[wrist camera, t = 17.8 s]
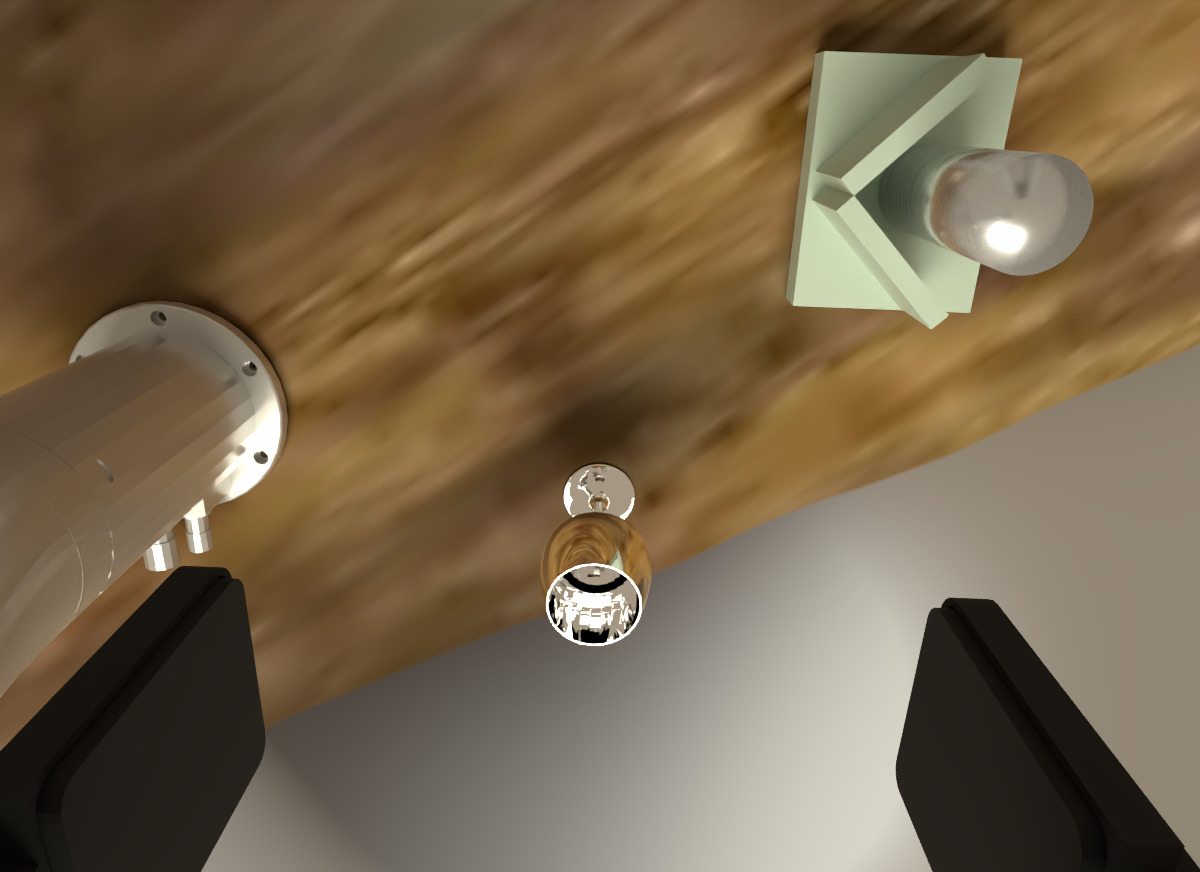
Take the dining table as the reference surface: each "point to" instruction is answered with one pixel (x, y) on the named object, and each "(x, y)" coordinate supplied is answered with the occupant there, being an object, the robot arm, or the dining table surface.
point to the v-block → (857, 162)
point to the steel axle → (989, 204)
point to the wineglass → (596, 560)
